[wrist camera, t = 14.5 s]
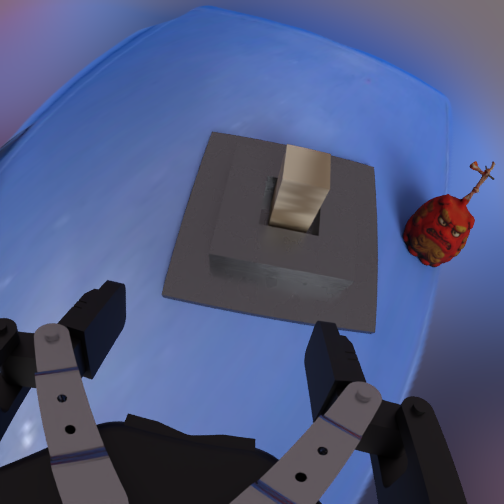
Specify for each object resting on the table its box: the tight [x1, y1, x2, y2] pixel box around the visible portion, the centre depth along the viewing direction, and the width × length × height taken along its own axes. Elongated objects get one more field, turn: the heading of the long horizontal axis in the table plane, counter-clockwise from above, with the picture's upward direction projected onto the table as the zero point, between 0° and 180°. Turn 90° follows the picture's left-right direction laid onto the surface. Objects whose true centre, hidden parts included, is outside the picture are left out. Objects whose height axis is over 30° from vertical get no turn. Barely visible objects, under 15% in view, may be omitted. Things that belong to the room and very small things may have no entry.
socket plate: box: [162, 132, 378, 334], centre depth 34 cm, size 22×22×4 cm
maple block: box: [268, 144, 331, 233], centre depth 30 cm, size 4×4×10 cm
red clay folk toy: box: [403, 161, 495, 267], centre depth 30 cm, size 8×7×15 cm
